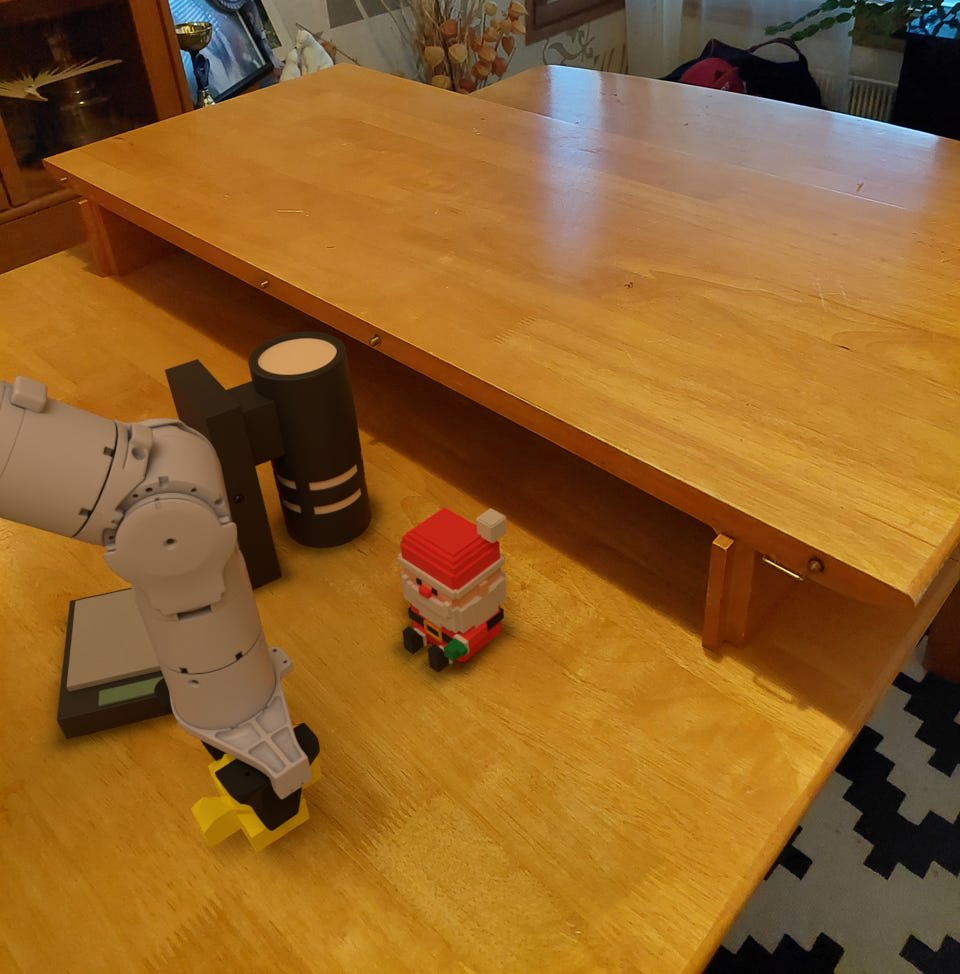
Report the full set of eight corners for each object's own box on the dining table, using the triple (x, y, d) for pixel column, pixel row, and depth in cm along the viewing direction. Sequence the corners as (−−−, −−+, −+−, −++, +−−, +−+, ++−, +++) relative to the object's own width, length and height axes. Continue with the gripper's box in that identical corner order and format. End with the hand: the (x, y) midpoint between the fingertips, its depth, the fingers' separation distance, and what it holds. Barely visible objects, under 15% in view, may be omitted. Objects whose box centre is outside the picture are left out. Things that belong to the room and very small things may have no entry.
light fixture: (391, 529, 86) (367, 361, 75) (253, 592, 80) (206, 419, 69) (342, 479, 92) (314, 318, 82) (212, 534, 87) (163, 368, 76)
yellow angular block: (185, 806, 60) (154, 730, 55) (295, 741, 63) (274, 664, 59) (224, 873, 56) (195, 797, 51) (338, 799, 60) (320, 722, 55)
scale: (216, 703, 71) (208, 678, 69) (65, 739, 68) (53, 714, 67) (209, 590, 81) (201, 566, 79) (77, 619, 79) (67, 595, 77)
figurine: (385, 635, 75) (367, 521, 68) (447, 589, 79) (436, 476, 72) (460, 688, 70) (449, 572, 63) (522, 637, 74) (518, 522, 67)
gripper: (344, 671, 48) (374, 822, 56) (211, 538, 57) (254, 685, 65) (221, 748, 44) (272, 897, 52) (101, 593, 53) (161, 741, 61)
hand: (256, 784), depth 58 cm, fingers closed on yellow angular block, 6 cm apart
